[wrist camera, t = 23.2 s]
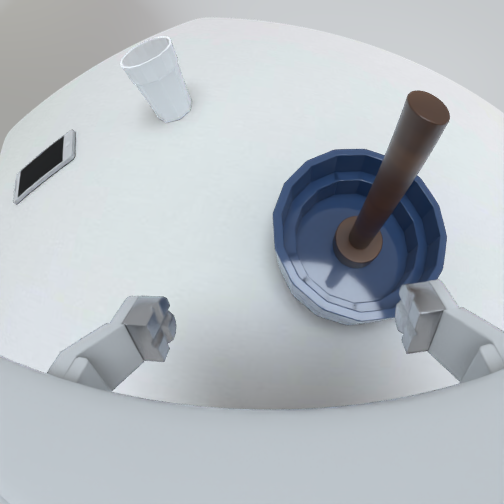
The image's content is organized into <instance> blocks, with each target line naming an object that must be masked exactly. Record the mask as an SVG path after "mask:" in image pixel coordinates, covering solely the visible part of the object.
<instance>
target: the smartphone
mask: <svg viewBox="0 0 504 504" xmlns="http://www.w3.org/2000/svg"><path fill="white" fill-rule="evenodd" d="M74 157H75V131H74V130H73V129H72V130H70V131H69V132H67V133H66V134H65V135H63V136H62V137H61V138H59V139H58V140H57V141H55V142H54V143H53V144H51V145H50V146H49V147H48V148H46V149H45V150H44V151H43V152H41V153H40V154H39V155H38V156H37V157H35V158H34V159H33V160H32V161H31V162H30V163H29V164H27V165H26V166H25V167H24V168H23V169H22V170H21V171H20V172H19V173H18V174H17V175H16V181H15V188H14V197H13V203H15V204H17V203H19V202H20V201H21V200H22V199H23V198H24V197H25V196H27V195H28V194H29V193H30V192H31V191H32V190H34V189H35V188H36V187H37V186H38V185H40V184H41V183H42V182H43V181H45V180H46V179H47V178H48V177H50V176H51V175H52V174H54V173H55V172H56V171H58V170H59V169H60V168H62V167H63V166H64V165H66V164H67V163H68V162H70V161H71V160H72V159H74Z"/></svg>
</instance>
